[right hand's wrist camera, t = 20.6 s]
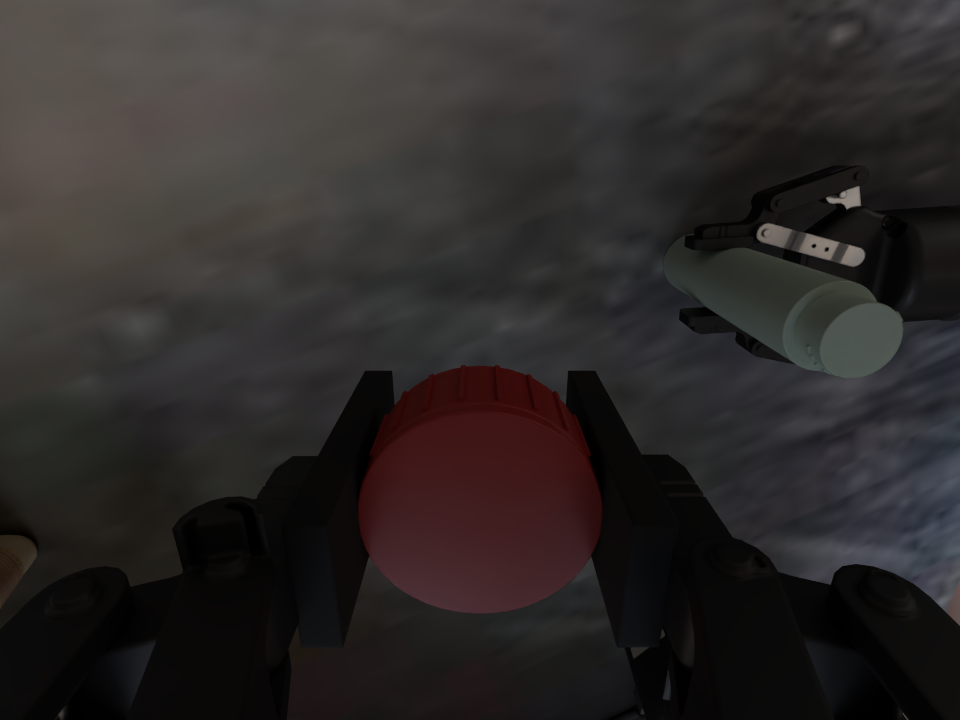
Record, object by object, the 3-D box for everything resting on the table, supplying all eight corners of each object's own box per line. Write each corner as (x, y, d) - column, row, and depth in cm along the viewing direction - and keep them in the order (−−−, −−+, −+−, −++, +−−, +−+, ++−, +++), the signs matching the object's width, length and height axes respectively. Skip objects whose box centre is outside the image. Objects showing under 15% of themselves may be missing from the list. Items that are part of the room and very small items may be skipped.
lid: (523, 321, 11) (533, 360, 9) (619, 491, 13) (648, 558, 11) (333, 424, 12) (301, 481, 10) (445, 571, 14) (439, 647, 12)
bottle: (680, 301, 42) (833, 406, 24) (652, 256, 40) (791, 332, 22) (730, 267, 41) (930, 350, 23) (703, 221, 39) (892, 270, 21)
